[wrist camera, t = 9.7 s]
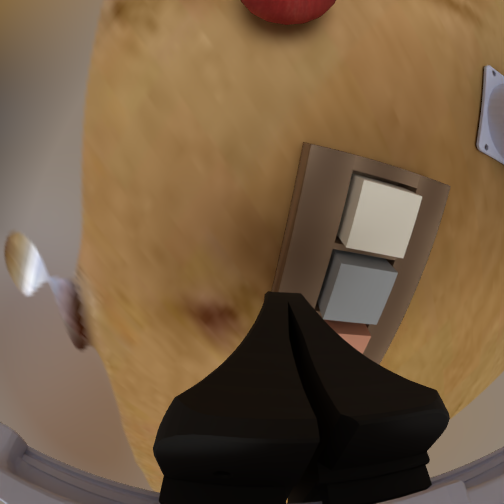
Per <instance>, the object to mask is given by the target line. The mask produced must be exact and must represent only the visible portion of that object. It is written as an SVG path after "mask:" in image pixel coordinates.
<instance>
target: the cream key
mask: <svg viewBox="0 0 504 504" xmlns="http://www.w3.org/2000/svg"><path fill="white" fill-rule="evenodd" d="M421 200H422V196H420V195H418V194H416V193H414V192H412V191H409V190H407V189H405V188H403V187H399V186H396V185H393V184H389V183H386V182H382V181H379V180H375V179H371V178H368V177H364V176H360V175H356V174H352V175H351V180H350V184H349V188H348V192H347V197H346V201H345V205H344V209H343V213H342V216H341V220H340V224H339V228H338V232H337V236H338V237H339V238H340V240H341V241H342V243H343V244H344V245H345V247H346V248H351V249H356V250H362V251H367V252H372V253H378V254H383V255H388V256H393V257H398V258H403V257H404V255H405V252H406V249H407V246H408V243H409V240H410V237H411V234H412V231H413V227H414V224H415V221H416V217H417V214H418V211H419V207H420V204H421Z"/></svg>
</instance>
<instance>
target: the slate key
mask: <svg viewBox="0 0 504 504" xmlns="http://www.w3.org/2000/svg"><path fill="white" fill-rule="evenodd" d="M397 274H398V272H397V271H396V270H395V269H394V268H393V267H392V265H391V264H390V263H389V262H388V261H387V260H386V259H385V258H380V257H374V256H369V255H363V254H358V253H353V252H347V251H341V250H336V249H333V250H332V253H331V257H330V260H329V264H328V267H327V270H326V274H325V277H324V280H323V284H322V287H321V290H320V293H319V296H318V300H317V302H318V305H319V309H320V312H321V315H322V318H323V319H325V320H334V321H343V322H353V323H363V324H374V325H377V323H378V320H379V318H380V316H381V314H382V311H383V309H384V307H385V304H386V302H387V299H388V297H389V295H390V292H391V290H392V287H393V285H394V282H395V279H396V277H397Z"/></svg>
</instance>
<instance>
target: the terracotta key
mask: <svg viewBox="0 0 504 504" xmlns="http://www.w3.org/2000/svg"><path fill="white" fill-rule="evenodd" d="M323 320H324V321H325V322H326V323H327V324H328V325H329V326H330V327H331V328H332V329H333V330H334V331H335V332H336V333H337V334H339V335H340V336H341V337H342V338H343V339H344V340H345V341H346V342H348V343H349V344H350V345H351V346H353V347H354V348H355V349H357V350H358V351H359V352H360V353H362V354H363V352H364V350H365V348H366V346H367V344H368V342H369V340H370V338H371V334H370V332H369V330H368V328H367V326H366V324H363V323H353V322H343V321H334V320H325V319H323Z"/></svg>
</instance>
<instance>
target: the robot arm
mask: <svg viewBox="0 0 504 504" xmlns="http://www.w3.org/2000/svg"><path fill="white" fill-rule="evenodd" d="M492 72H493V74H492ZM476 146H477V149H478V150H479V151H481V152H483V153H485V154H486V155H488V156H490V157H492V158H493V159H495V160H497V161H499V162H500V163H502V164H504V76H503V75H502V74H500V73H499V72H498V71H496V70H495V69H494V68H492V67H491V66H489V65H488V66H485V67H484V83H483V97H482V107H481V116H480V123H479V130H478V137H477V143H476ZM485 146H486V148H485ZM449 419H450V418H449V413H448V411H447V409H446V407H445V405H444V403H443V401H442V399H441V397H440V395H439V394H438V392H437V390H434V389H432V388H429V387H426V386H423V385H421V384H418V383H415V382H413V381H410V380H408V379H406V378H403V377H401V376H399V375H397V374H395V373H393V372H391V371H389V370H387V369H386V368H384V367H382V366H380V365H379V364H377V363H376V362H374V361H372V360H371V359H369V358H368V357H366V356H365V355H363V354H362V353H360V352H359V351H358V350H357V349H355V348H354V347H353V346H351V345H350V344H349V343H348V342H346V341H345V340H344V339H343V338H342V337H341V336H340V335H339V334H337V333H336V332H335V331H334V330H333V329H332V328H331V327H330V326H329V325H328V324H327V323H326V322H325V321H324V320H323V318H322V317H321V316H320V315H319V314H318V313H317V312H316V311H315V309H314V308H313V307H312V306H311V305H310V303H309V302H308V301H307V300H306V299H305V297H304V296H303V295H302V294H301V293H286V292H267V293H266V294H265V299H264V303H263V306H262V309H261V311H260V313H259V315H258V317H257V319H256V321H255V323H254V325H253V326H252V328H251V329H250V331H249V333H248V334H247V336H246V337H245V338H244V340H243V341H242V342H241V344H240V345H239V346H238V347H237V349H236V350H235V351H234V352H233V353H232V354H231V355H230V356H229V357H228V358H227V359H226V360H225V361H224V362H223V363H222V364H221V365H220V366H219V367H218V368H217V369H215V370H214V371H213V372H212V373H211V374H209V375H208V376H207V377H206V378H204V379H203V380H202V381H200V382H199V383H198V384H196V385H194V386H193V387H191V388H190V389H188V390H186V391H185V392H183V393H181V394H180V395H178V396H176V397H175V398H174V400H173V401H172V403H171V405H170V406H169V408H168V410H167V411H166V413H165V415H164V417H163V419H162V422H161V424H160V426H159V429H158V432H157V436H156V439H155V443H154V447H153V452H154V456H155V458H156V460H157V462H158V465H159V467H160V469H161V471H162V473H163V475H164V478H163V482H162V487H161V491H160V493H158V492H154V491H149V490H145V489H141V488H137V487H133V486H129V485H126V484H122V483H119V482H115V481H112V480H109V479H106V478H103V477H100V476H97V475H94V474H91V473H88V472H86V471H83V470H80V469H78V468H75V467H73V466H70V465H68V464H66V463H63V462H61V461H58V460H56V459H54V458H52V457H50V456H47V455H45V454H43V453H41V452H39V451H37V450H35V449H33V448H31V447H29V446H27V444H26V442H25V441H24V439H23V438H22V437H21V436H20V435H19V434H18V433H17V432H15V431H14V430H13V429H11V428H10V427H8V426H6V425H5V424H3V423H1V422H0V500H1V501H2V502H4V503H5V504H286V500H287V498H288V504H504V447H502V448H500V449H498V450H496V451H494V452H492V453H491V454H488V455H486V456H484V457H482V458H480V459H478V460H475V461H473V462H471V463H469V464H466V465H464V466H462V467H459V468H457V469H454V470H451V471H449V472H446V473H443V474H441V475H438V476H435V477H432V478H430V477H429V474H428V471H427V468H426V464H428V463H429V460H430V459H429V456H428V454H427V450H428V449H429V448H430V447H431V446H432V445H433V444H434V443H435V441H436V440H437V439H438V438H439V437H440V436H441V434H442V433H443V432H444V430H445V429H446V427H447V425H448V422H449Z"/></svg>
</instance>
